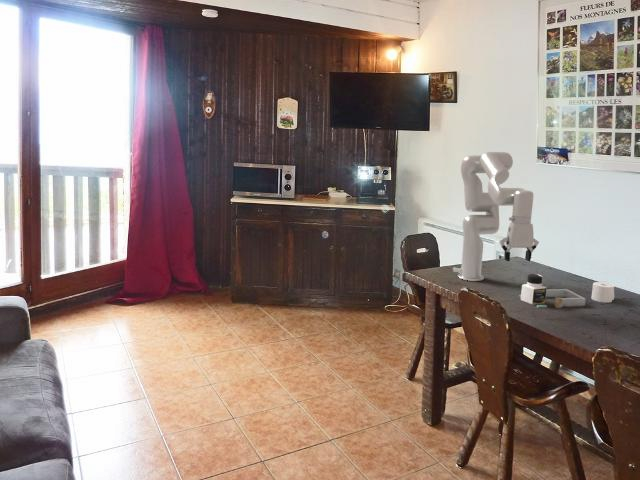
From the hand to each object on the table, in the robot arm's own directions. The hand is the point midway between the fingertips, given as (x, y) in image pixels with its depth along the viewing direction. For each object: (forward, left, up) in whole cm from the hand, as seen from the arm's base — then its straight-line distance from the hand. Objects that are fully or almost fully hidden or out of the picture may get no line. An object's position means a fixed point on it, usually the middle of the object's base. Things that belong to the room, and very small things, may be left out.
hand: (517, 260), depth 234 cm
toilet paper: (+34, +28, -19) cm, 48 cm away
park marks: (+7, +5, -18) cm, 20 cm away
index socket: (+18, +14, -18) cm, 29 cm away
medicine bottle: (+7, +5, -18) cm, 20 cm away
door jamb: (+12, +10, -18) cm, 24 cm away
